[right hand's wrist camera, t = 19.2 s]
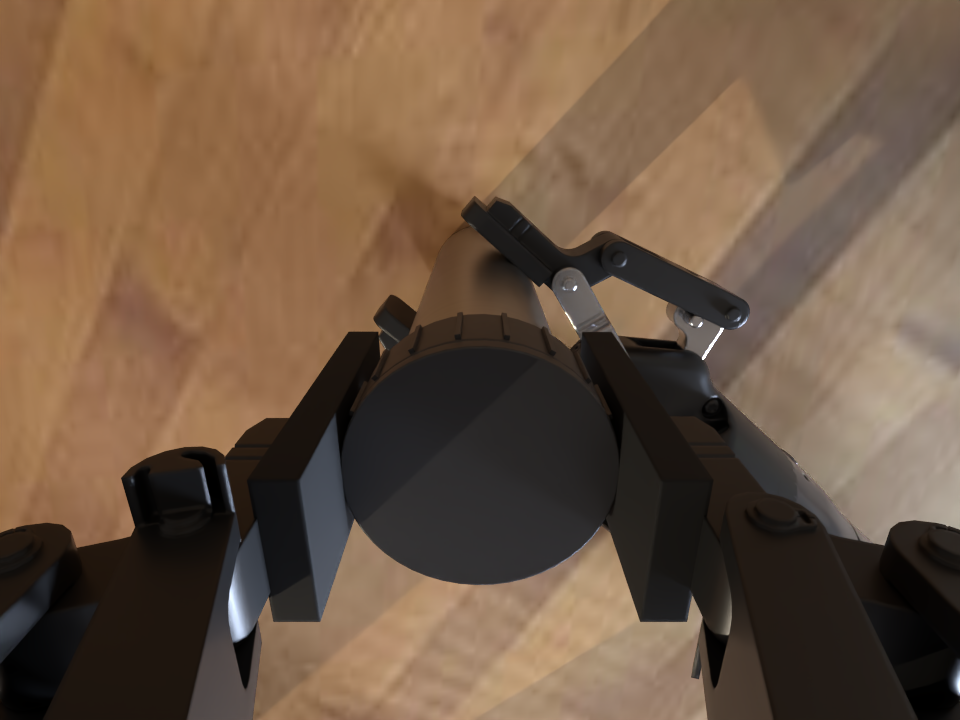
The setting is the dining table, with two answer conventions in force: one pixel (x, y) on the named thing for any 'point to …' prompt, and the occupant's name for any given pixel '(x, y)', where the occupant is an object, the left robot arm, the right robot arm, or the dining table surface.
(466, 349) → the lid
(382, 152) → the dining table surface
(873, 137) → the dining table surface
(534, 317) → the bottle
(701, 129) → the dining table surface
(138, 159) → the dining table surface
